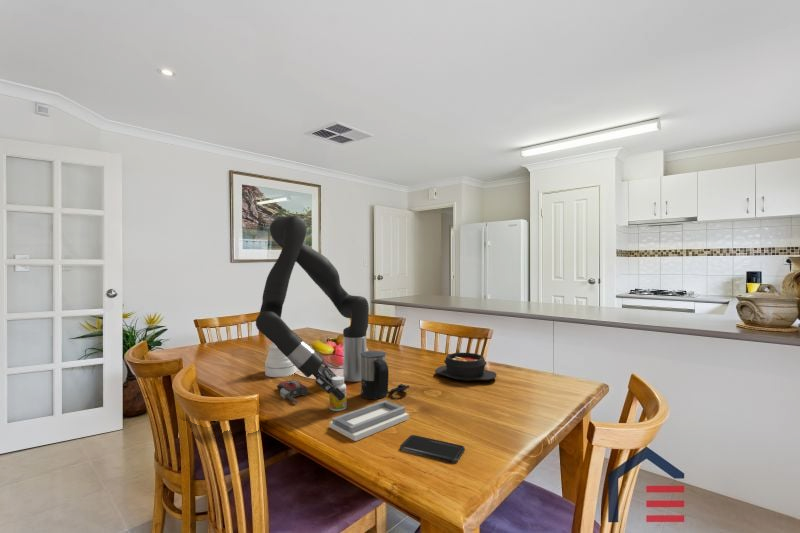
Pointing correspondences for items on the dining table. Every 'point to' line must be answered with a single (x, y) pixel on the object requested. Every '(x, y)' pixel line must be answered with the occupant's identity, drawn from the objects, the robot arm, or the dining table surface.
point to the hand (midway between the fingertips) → (343, 394)
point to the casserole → (465, 367)
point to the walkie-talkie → (291, 389)
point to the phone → (433, 448)
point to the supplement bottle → (334, 401)
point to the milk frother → (375, 376)
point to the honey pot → (278, 363)
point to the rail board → (369, 420)
